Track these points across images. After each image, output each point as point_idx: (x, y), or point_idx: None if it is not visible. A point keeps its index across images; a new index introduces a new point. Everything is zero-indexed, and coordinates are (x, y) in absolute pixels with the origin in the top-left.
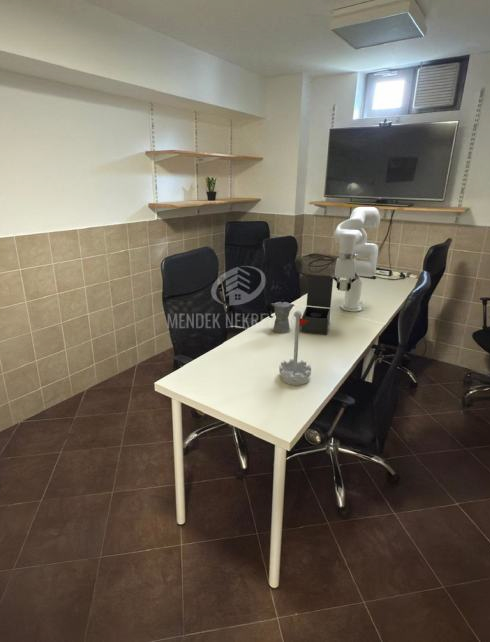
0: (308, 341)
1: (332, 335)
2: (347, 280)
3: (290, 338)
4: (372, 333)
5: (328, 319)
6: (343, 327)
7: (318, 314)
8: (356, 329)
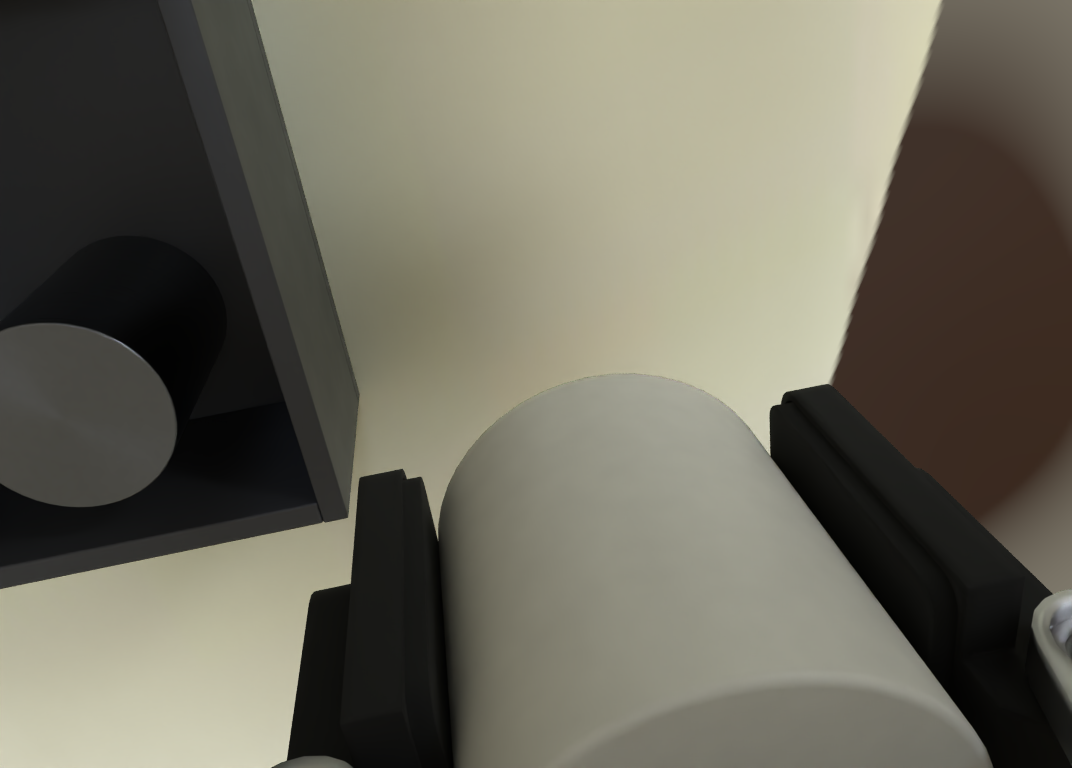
0: (243, 640)
1: (432, 377)
2: (950, 728)
3: (29, 671)
4: (914, 58)
5: (303, 314)
6: (501, 18)
7: (110, 403)
8: (697, 8)
